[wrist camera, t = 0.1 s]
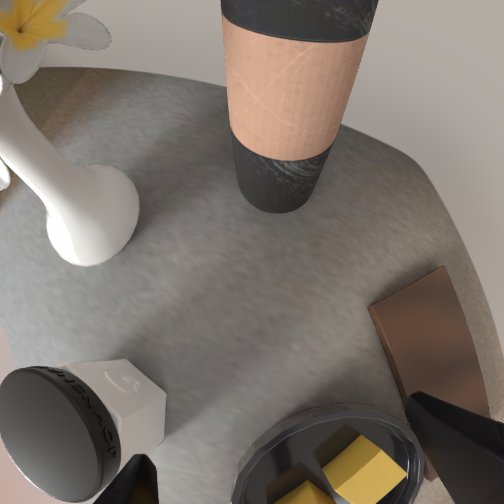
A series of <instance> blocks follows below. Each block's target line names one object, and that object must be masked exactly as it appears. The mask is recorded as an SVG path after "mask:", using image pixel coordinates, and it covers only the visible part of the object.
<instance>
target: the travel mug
mask: <svg viewBox="0 0 504 504" xmlns="http://www.w3.org/2000/svg"><path fill="white" fill-rule="evenodd" d="M378 1H379V0H221V13H222V28H223V42H224V56H225V69H226V81H227V95H228V108H229V120H230V128H231V134H232V141H233V148H234V155H235V162H236V169H237V176H238V182H239V186H240V189H241V192H242V194H243V195H244V197H245V198H246V199H247V200H248V201H249V202H250V203H251V204H252V205H253V206H255V207H256V208H258V209H260V210H263V211H266V212H270V213H285V212H289V211H292V210H295V209H297V208H299V207H300V206H301V205H303V204H304V203H305V202H306V201H307V200H308V198H309V197H310V195H311V193H312V191H313V189H314V187H315V185H316V182H317V180H318V178H319V175H320V173H321V171H322V168H323V166H324V164H325V161H326V159H327V157H328V154H329V152H330V150H331V147H332V145H333V143H334V140H335V138H336V135H337V132H338V129H339V126H340V123H341V120H342V117H343V114H344V111H345V108H346V105H347V102H348V99H349V96H350V93H351V90H352V87H353V84H354V81H355V78H356V75H357V71H358V68H359V65H360V62H361V59H362V55H363V52H364V49H365V46H366V42H367V39H368V36H369V32H370V29H371V25H372V22H373V18H374V15H375V11H376V8H377V4H378Z"/></svg>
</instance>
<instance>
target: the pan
mask: <svg viewBox="0 0 504 504" xmlns="http://www.w3.org/2000/svg"><path fill="white" fill-rule="evenodd" d="M361 434H362V435H363V436H364V437H366V438H367V439H368V440H370V441H371V442H372V443H374V444H375V445H376V446H378V447H379V448H380V449H382V450H383V451H384V452H385V453H386V454H387V455H388V456H389V457H390V458H391V459H392V460H393V461H395V462H396V463H397V464H398V465H399V466H400V467H401V468H402V469H403V470H404V471H405V472H406V473H408V475H407V476H405V477H404V478H403V479H402V480H401V481H400V482H399V483H398V484H397V485H396V486H395V487H394V488H393V489H392V490H391V491H389V492H388V493H387V494H386V495H385V496H384V497H383V498H381V499H380V500H379V501H378V502H377V503H376V504H413V503H414V501H415V498H416V496H417V494H418V492H419V489H420V487H421V484H422V482H423V476H424V464H425V457H424V454H423V450H422V448H421V446H420V444H419V442H418V440H417V438H416V436H415V434H414V432H413V431H412V430H411V429H410V428H409V427H408V426H407V425H406V424H405V423H404V422H403V421H401V420H399V419H397V418H395V417H393V416H390V415H388V414H386V413H384V412H381V411H379V410H377V409H374V408H372V407H370V406H367V405H357V404H346V403H336V404H331V405H326V406H320V407H315V408H309V409H307V410H305V411H303V412H300V413H298V414H296V415H294V416H292V417H289V418H287V419H285V420H282V421H280V422H278V423H277V424H276V425H275V426H273V427H272V428H271V429H270V430H268V431H267V432H266V433H265V434H263V435H262V436H261V437H259V438H258V439H257V440H256V441H254V443H253V444H252V446H251V447H250V449H249V450H248V451H247V453H246V454H245V456H244V457H243V458H242V460H241V461H240V462H239V465H238V468H237V472H236V476H235V479H234V483H233V487H232V494H231V504H273V503H275V502H276V501H278V500H279V499H281V498H282V497H284V496H285V495H287V494H288V493H290V492H291V491H293V490H294V489H296V488H297V487H298V486H300V485H301V484H302V483H304V482H305V481H307V480H309V481H310V482H311V483H313V484H314V485H315V486H316V487H318V488H319V489H320V490H321V491H323V492H324V493H325V494H327V495H328V496H329V497H331V498H332V499H333V500H335V502H336V504H351V503H350V502H349V501H347V500H346V499H345V498H343V497H342V496H341V495H339V494H338V493H337V492H336V491H335V490H334V489H333V487H332V485H331V484H330V482H329V480H328V479H327V477H326V475H325V474H324V472H323V470H322V468H323V467H325V466H326V465H327V464H328V463H329V462H331V461H332V460H333V459H334V458H335V457H337V456H338V455H339V454H340V453H341V452H342V451H344V450H345V449H346V448H347V447H348V446H349V445H350V444H351V443H352V442H354V441H355V440H356V439H357V438H358V437H359V436H360V435H361Z"/></svg>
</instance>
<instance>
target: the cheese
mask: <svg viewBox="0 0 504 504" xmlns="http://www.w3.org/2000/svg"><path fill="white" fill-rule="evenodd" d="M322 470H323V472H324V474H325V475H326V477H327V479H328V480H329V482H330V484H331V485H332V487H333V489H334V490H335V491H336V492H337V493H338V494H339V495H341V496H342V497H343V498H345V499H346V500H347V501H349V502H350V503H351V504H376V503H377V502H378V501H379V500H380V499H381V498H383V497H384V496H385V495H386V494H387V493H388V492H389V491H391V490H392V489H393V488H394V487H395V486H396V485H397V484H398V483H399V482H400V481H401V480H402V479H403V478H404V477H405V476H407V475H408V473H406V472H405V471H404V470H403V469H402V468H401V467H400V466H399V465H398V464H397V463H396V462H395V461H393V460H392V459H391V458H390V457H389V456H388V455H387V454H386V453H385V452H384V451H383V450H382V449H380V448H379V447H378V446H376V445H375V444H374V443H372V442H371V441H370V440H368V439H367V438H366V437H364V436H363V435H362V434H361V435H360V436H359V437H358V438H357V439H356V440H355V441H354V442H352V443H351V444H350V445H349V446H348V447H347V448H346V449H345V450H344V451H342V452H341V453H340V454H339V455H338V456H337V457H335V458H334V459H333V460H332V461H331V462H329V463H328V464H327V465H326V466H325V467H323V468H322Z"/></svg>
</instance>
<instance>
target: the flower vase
mask: <svg viewBox="0 0 504 504" xmlns="http://www.w3.org/2000/svg"><path fill="white" fill-rule="evenodd" d="M85 1H86V0H0V190H4V189H5V188H7V187H8V185H9V183H10V182H11V175H10V172H9V169H8V168H7V165H8V166H9V167H10V168H11V169H12V170H13V171H14V172H15V173H16V174H17V175H18V176H19V177H20V178H21V179H22V180H23V181H24V182H25V183H26V184H27V185H29V187H30V188H31V189H32V190H33V191H35V193H36V194H37V195H38V196H39V197H40V199H41V200H42V202H43V203H44V205H45V207H46V209H47V215H46V225H47V233H48V236H49V239H50V241H51V244H52V246H53V248H54V249H55V250H56V251H57V252H58V253H59V255H60V256H61V257H62V258H63V259H64V260H66V261H68V262H70V263H72V264H74V265H78V266H86V267H87V266H93V265H98V264H101V263H103V262H105V261H107V260H109V259H111V258H113V257H114V256H115V255H116V254H117V253H118V252H120V251H121V250H122V249H123V248H124V246H125V245H126V244H127V242H128V241H129V240H130V238H131V236H132V234H133V232H134V230H135V228H136V226H137V221H138V217H139V213H140V204H139V196H138V192H137V189H136V186H135V185H134V183H133V182H132V180H131V179H130V178H129V176H128V175H126V174H125V173H123V172H122V171H120V170H119V169H117V168H115V167H113V166H109V165H105V164H94V165H87V166H84V167H80V166H77V165H75V164H73V163H72V162H70V161H69V160H68V159H66V158H65V157H64V156H63V155H62V154H61V153H60V152H59V151H58V150H57V149H56V148H55V147H54V146H53V145H52V144H51V143H50V142H49V140H48V139H47V138H46V137H45V136H44V135H43V134H42V133H41V132H40V131H39V129H38V128H37V127H36V126H35V125H34V123H33V122H32V121H31V119H30V118H29V116H28V115H27V113H26V112H25V110H24V108H23V106H22V104H21V102H20V100H19V98H18V96H17V94H16V91H15V89H14V86H13V83H19V84H21V83H23V82H26V81H27V80H28V79H30V78H31V77H32V76H33V75H34V74H35V73H36V71H37V70H38V69H39V68H40V65H41V64H42V62H43V60H44V57H45V54H46V50H47V44H46V43H60V44H64V45H68V46H72V47H75V48H80V49H85V50H86V49H87V50H101V49H105V48H107V47H108V46H109V44H110V43H111V35H110V33H109V31H108V30H107V28H106V27H105V26H104V25H103V24H102V23H101V22H99V21H98V20H97V19H95V18H94V17H92V16H90V15H87V14H84V13H77V12H76V13H72V14H68V15H66V14H67V13H69V12H70V11H71V10H73V9H74V8H76V7H77V6H79V5H80V4H82V3H83V2H85ZM64 15H65V16H64ZM62 16H63V17H62ZM6 164H7V165H6Z"/></svg>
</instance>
